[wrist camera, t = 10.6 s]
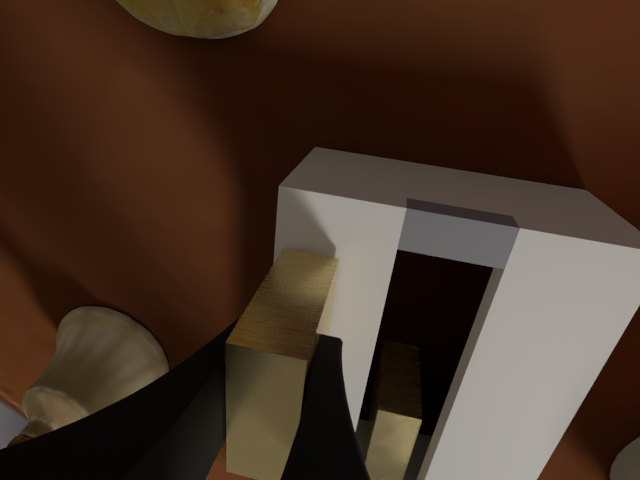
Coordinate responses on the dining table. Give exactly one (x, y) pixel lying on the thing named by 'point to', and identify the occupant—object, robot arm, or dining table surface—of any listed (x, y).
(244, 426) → the block
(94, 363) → the hand bell
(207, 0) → the bread roll
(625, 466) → the reusable coffee cup
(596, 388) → the dining table surface
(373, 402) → the block
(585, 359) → the box
